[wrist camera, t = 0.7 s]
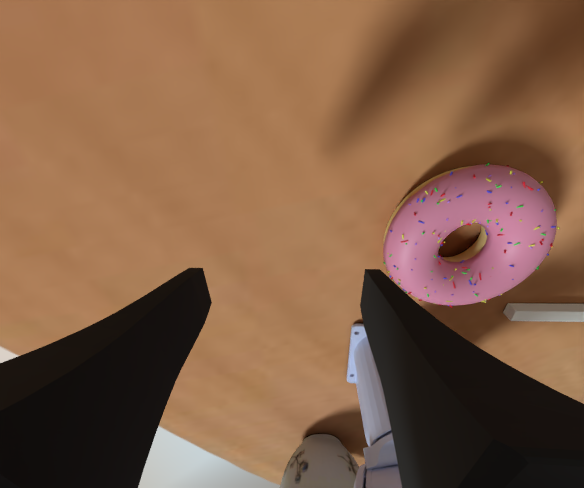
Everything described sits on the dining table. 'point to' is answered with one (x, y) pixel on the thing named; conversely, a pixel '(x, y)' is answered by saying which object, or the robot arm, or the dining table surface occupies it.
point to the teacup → (320, 465)
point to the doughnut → (488, 247)
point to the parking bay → (544, 312)
